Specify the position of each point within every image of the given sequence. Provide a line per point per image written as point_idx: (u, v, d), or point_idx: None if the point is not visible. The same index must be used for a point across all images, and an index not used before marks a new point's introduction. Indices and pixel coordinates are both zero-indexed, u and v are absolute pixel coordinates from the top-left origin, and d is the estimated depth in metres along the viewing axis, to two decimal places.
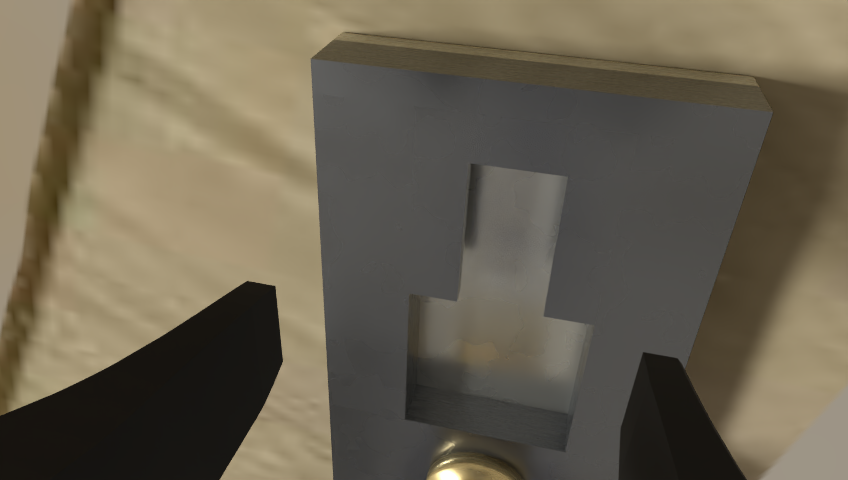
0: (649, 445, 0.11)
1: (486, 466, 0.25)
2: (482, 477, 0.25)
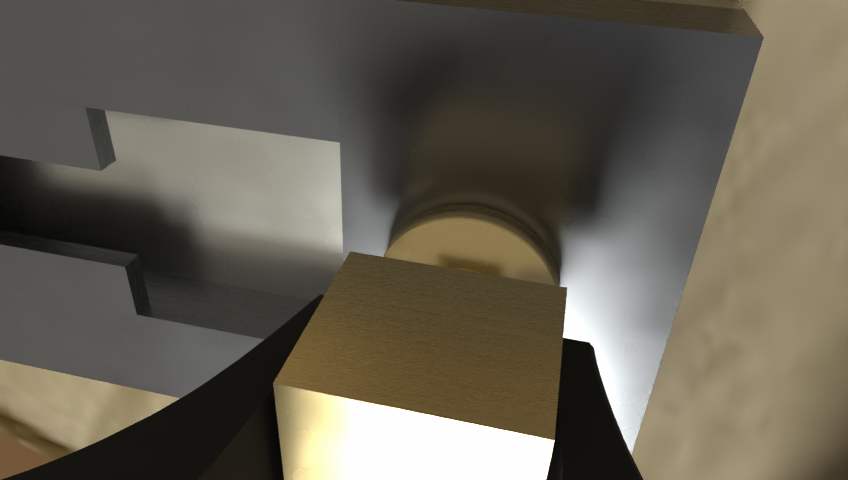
0: None
1: None
2: None
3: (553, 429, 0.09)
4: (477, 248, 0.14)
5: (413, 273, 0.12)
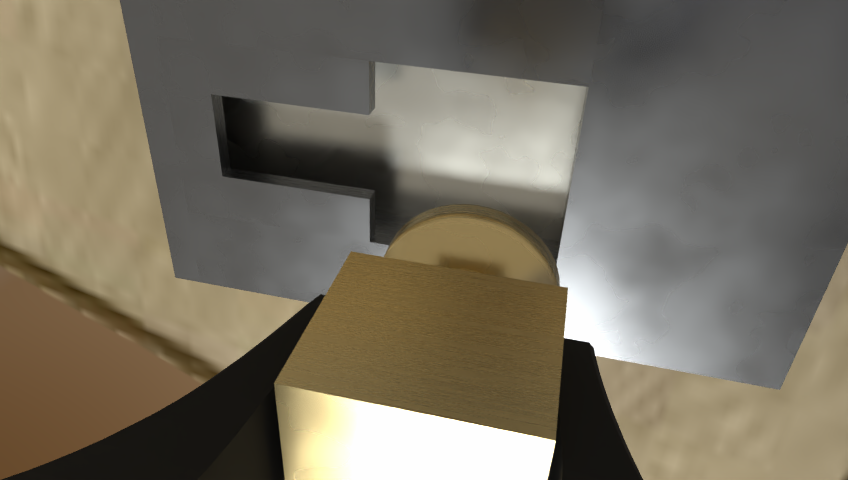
0: None
1: None
2: None
3: (554, 429, 0.09)
4: (478, 248, 0.14)
5: (415, 274, 0.12)
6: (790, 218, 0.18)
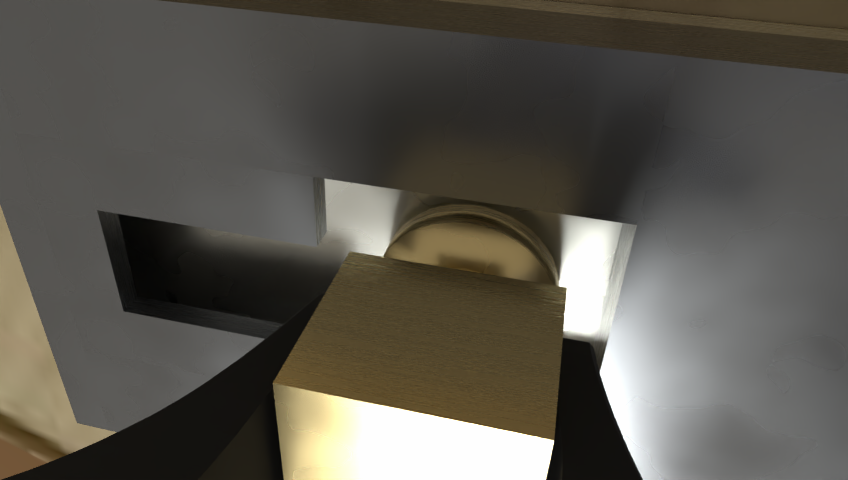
0: None
1: None
2: None
3: (552, 429, 0.09)
4: (477, 248, 0.14)
5: (413, 273, 0.12)
6: None
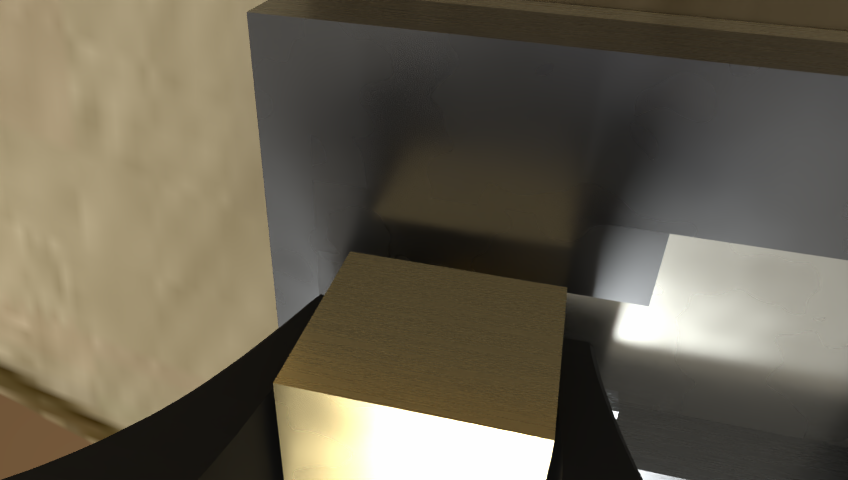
0: None
1: None
2: None
3: (553, 429, 0.09)
4: None
5: (413, 273, 0.12)
6: None
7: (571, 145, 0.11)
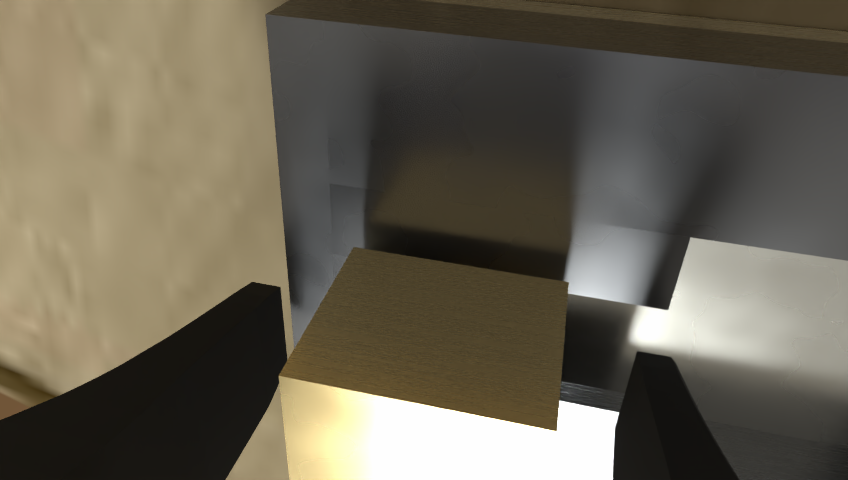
0: (642, 444, 0.11)
1: None
2: None
3: (555, 420, 0.09)
4: None
5: (417, 268, 0.12)
6: None
7: (592, 148, 0.11)
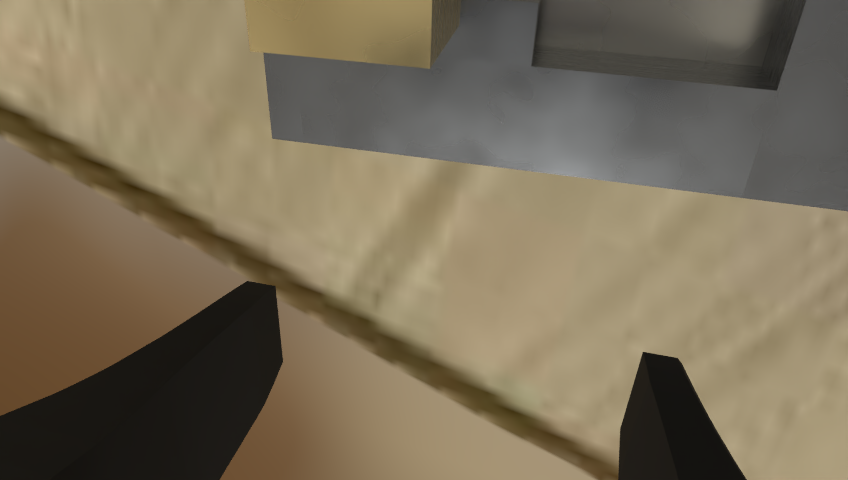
0: (649, 445, 0.11)
1: None
2: None
3: None
4: None
5: None
6: None
7: None
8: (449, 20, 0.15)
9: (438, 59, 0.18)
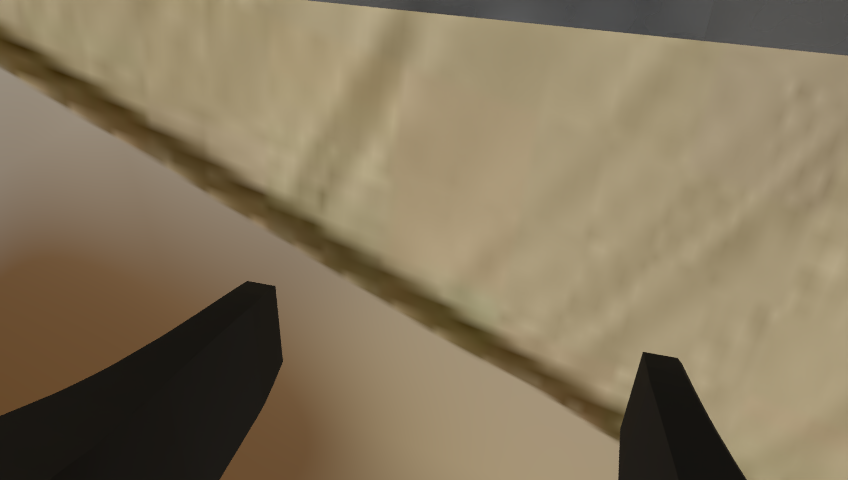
0: (649, 446, 0.11)
1: None
2: None
3: None
4: None
5: None
6: None
7: None
8: None
9: None
